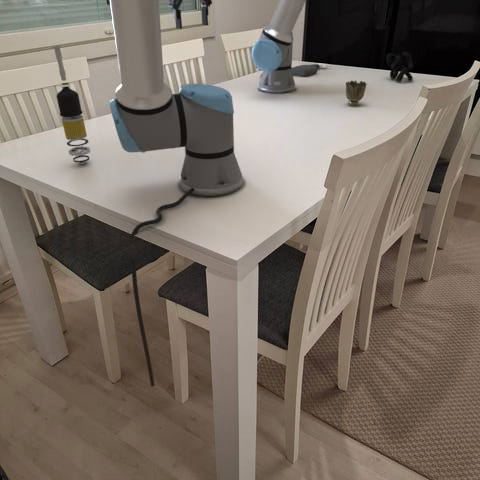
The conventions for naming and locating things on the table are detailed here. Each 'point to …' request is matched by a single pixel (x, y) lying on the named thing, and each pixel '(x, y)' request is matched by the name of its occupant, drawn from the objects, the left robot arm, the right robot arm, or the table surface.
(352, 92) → the cup
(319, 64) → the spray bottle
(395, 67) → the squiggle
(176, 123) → the left robot arm
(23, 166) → the table surface
